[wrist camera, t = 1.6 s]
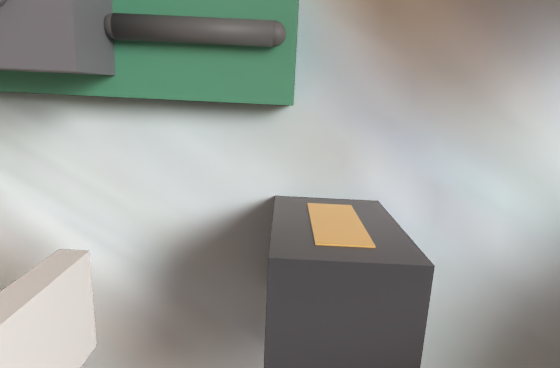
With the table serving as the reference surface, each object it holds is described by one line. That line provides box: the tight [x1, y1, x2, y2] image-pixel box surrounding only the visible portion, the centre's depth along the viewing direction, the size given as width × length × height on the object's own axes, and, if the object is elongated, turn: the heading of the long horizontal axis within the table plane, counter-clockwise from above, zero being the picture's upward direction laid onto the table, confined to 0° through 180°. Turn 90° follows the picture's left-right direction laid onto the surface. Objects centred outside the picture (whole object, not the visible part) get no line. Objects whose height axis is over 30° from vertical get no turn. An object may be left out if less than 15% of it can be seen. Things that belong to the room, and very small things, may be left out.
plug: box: [264, 196, 434, 368], centre depth 13 cm, size 4×4×6 cm
